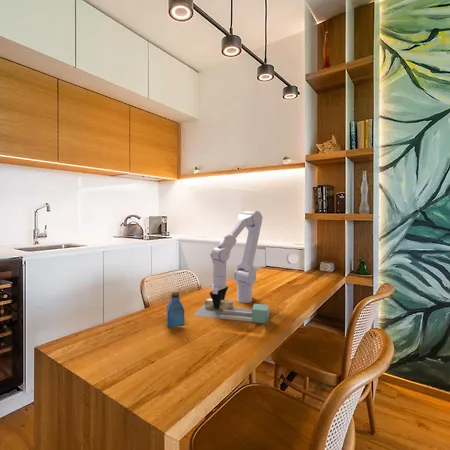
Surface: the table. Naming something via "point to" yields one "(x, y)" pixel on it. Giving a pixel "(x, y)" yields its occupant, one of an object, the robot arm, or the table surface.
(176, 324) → the perfume bottle
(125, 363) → the table surface
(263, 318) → the board
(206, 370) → the table surface
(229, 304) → the slat
